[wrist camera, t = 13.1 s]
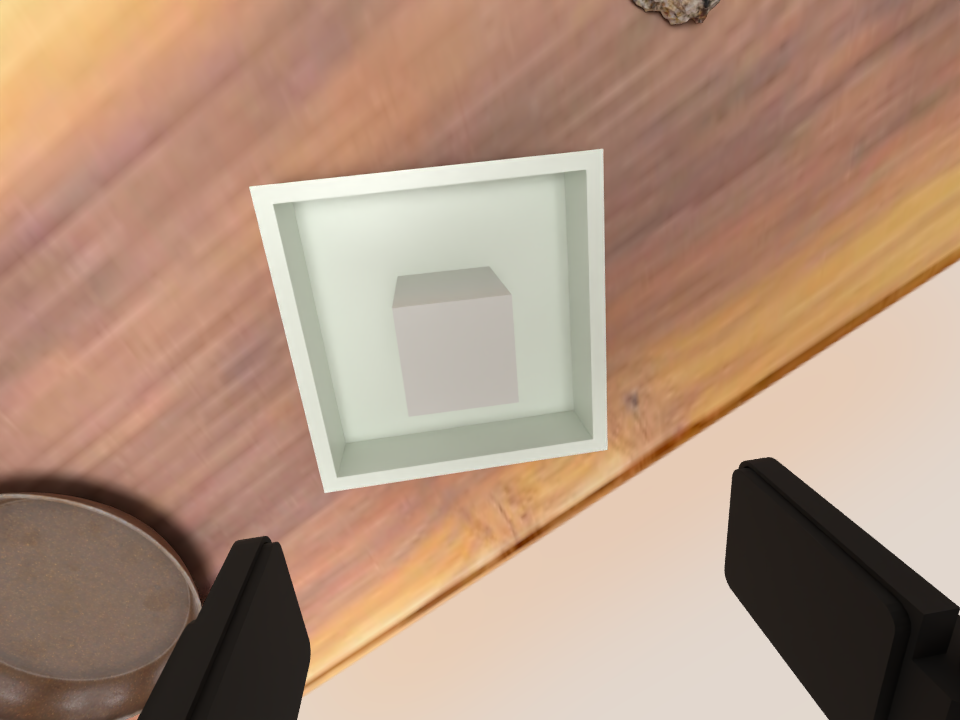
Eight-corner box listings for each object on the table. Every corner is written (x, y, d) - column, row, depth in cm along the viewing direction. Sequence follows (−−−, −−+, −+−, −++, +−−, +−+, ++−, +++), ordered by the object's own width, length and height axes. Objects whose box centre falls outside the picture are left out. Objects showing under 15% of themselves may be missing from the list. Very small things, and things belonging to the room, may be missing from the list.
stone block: (489, 266, 28) (511, 294, 21) (496, 351, 30) (518, 402, 23) (397, 276, 28) (392, 308, 21) (410, 362, 29) (408, 416, 23)
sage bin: (574, 152, 27) (603, 148, 23) (582, 414, 33) (607, 449, 29) (275, 184, 26) (249, 186, 22) (336, 450, 32) (324, 492, 27)
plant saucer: (-143, 487, 29) (-204, 521, 26) (180, 451, 31) (157, 479, 28) (-18, 704, 35) (-56, 751, 33) (246, 665, 37) (232, 706, 34)
